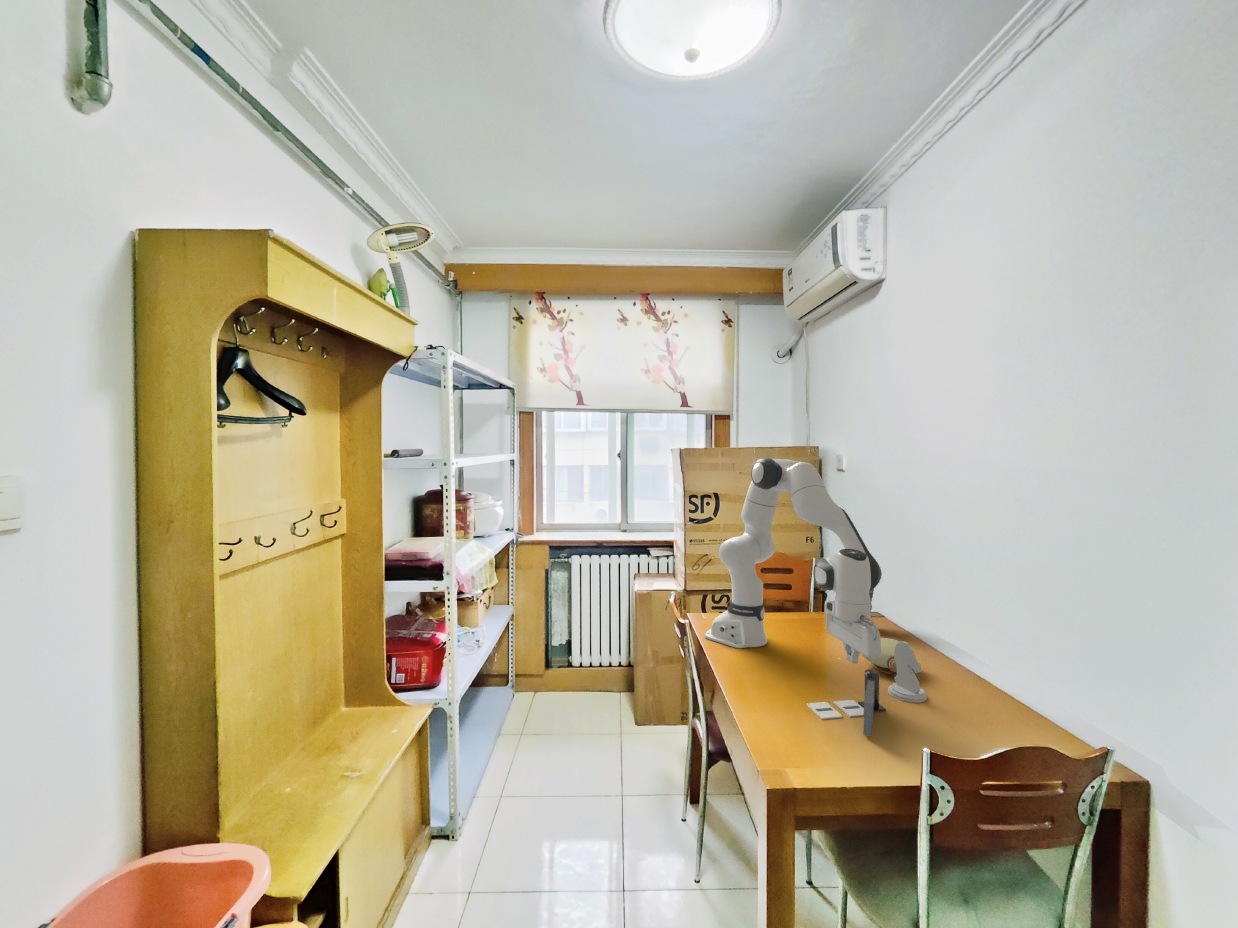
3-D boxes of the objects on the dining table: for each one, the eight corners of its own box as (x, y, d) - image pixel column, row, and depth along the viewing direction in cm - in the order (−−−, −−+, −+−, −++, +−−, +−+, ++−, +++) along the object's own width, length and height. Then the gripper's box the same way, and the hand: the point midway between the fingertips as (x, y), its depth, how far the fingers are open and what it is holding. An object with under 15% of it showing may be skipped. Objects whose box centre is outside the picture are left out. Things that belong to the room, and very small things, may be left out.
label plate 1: (826, 703, 149) (826, 701, 149) (842, 717, 141) (842, 715, 141) (806, 704, 148) (806, 703, 148) (821, 719, 140) (821, 717, 140)
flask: (906, 660, 178) (925, 686, 160) (855, 657, 181) (868, 682, 163) (907, 633, 177) (926, 656, 160) (855, 630, 180) (869, 652, 163)
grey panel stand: (864, 700, 149) (865, 668, 149) (879, 703, 147) (879, 671, 147) (859, 734, 132) (859, 698, 131) (875, 737, 130) (875, 701, 130)
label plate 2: (853, 701, 150) (853, 699, 150) (870, 715, 142) (870, 713, 142) (833, 702, 149) (833, 701, 149) (849, 716, 141) (849, 715, 141)
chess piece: (909, 705, 148) (910, 651, 147) (880, 690, 157) (881, 639, 156) (935, 698, 151) (935, 646, 151) (904, 684, 160) (905, 635, 160)
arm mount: (874, 701, 149) (874, 700, 149) (885, 710, 144) (885, 708, 144) (857, 703, 149) (857, 701, 149) (868, 712, 144) (868, 710, 144)
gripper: (888, 622, 135) (887, 676, 135) (842, 599, 155) (841, 646, 156) (865, 623, 134) (864, 678, 134) (821, 600, 154) (821, 648, 155)
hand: (851, 661), depth 145 cm, fingers closed
